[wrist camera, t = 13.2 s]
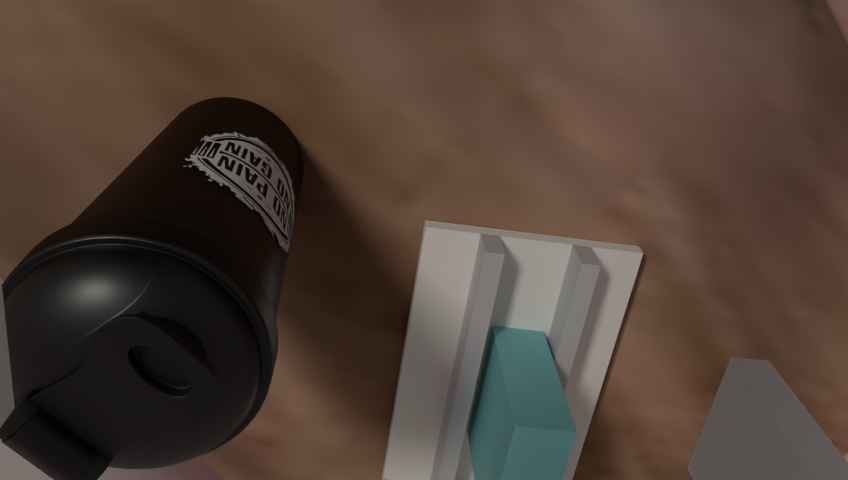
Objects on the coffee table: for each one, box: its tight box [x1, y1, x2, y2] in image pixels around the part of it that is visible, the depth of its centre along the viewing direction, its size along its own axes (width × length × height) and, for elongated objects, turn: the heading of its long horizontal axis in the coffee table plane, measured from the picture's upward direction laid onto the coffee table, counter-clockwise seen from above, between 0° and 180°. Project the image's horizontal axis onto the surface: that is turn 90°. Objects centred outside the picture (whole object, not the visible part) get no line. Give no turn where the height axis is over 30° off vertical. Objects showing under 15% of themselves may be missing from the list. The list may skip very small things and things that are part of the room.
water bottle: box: [0, 97, 303, 480], centre depth 35 cm, size 10×10×23 cm
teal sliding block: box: [468, 326, 577, 480], centre depth 48 cm, size 9×4×10 cm, turn 171°
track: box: [381, 220, 643, 480], centre depth 49 cm, size 22×14×9 cm, turn 171°
